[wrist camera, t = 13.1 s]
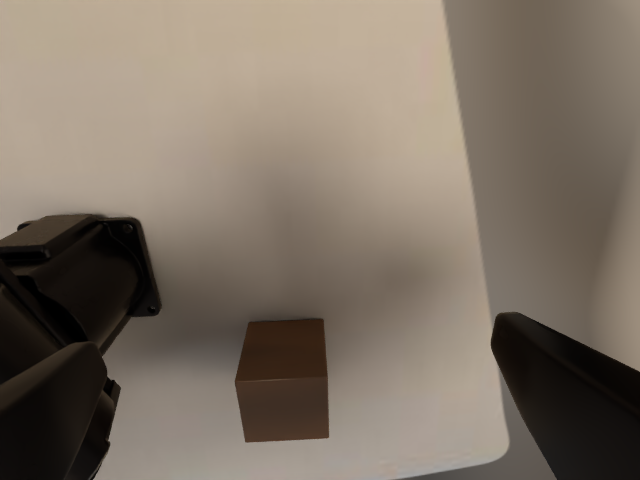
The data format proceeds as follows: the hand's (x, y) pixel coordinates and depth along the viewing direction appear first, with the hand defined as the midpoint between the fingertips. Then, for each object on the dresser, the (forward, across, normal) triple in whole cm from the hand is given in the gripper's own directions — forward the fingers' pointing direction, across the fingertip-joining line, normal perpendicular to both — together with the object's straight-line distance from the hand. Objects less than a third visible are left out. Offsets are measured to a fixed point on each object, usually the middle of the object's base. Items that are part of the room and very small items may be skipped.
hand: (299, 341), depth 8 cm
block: (+12, +2, +12) cm, 17 cm away
